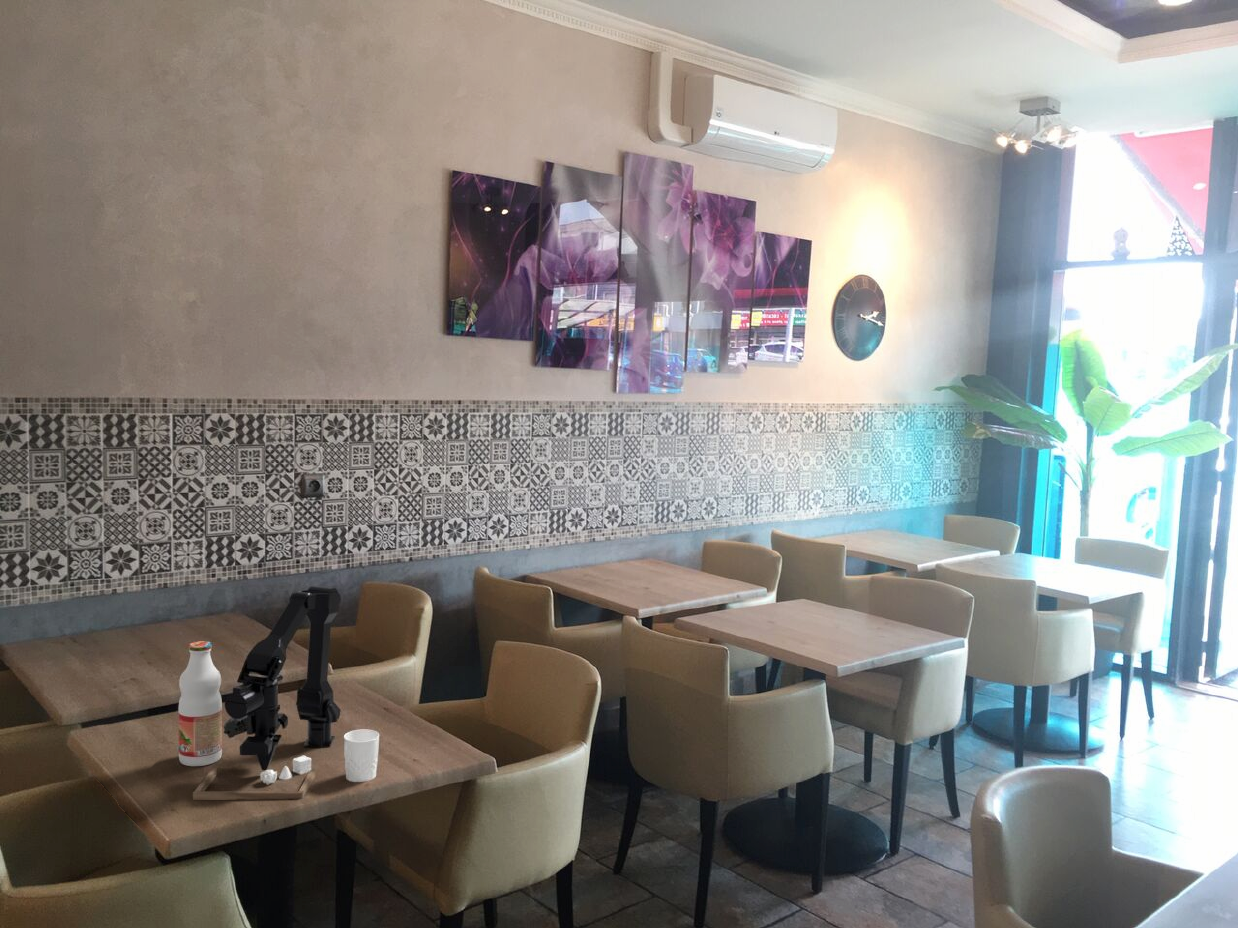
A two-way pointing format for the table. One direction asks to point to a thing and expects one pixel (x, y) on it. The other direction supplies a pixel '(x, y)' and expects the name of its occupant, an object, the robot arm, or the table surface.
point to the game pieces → (299, 766)
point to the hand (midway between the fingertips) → (264, 769)
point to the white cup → (361, 754)
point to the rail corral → (234, 795)
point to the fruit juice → (200, 709)
